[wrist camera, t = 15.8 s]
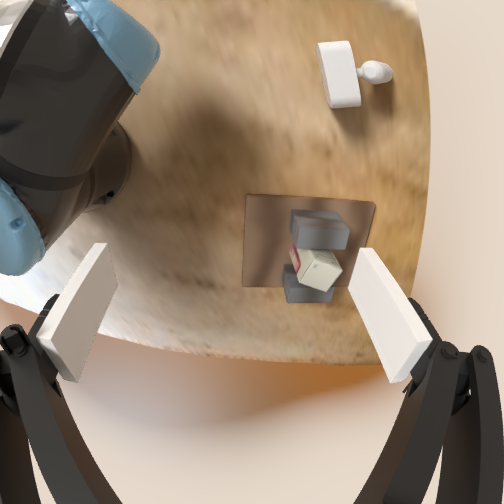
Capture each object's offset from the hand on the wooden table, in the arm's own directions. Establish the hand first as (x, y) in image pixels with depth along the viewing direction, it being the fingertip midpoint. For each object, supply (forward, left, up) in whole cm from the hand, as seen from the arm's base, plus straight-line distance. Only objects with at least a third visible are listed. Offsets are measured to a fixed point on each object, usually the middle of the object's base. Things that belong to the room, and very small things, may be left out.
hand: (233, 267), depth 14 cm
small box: (+12, -14, -26) cm, 32 cm away
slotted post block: (+12, -14, -27) cm, 32 cm away
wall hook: (+15, +13, -27) cm, 34 cm away
